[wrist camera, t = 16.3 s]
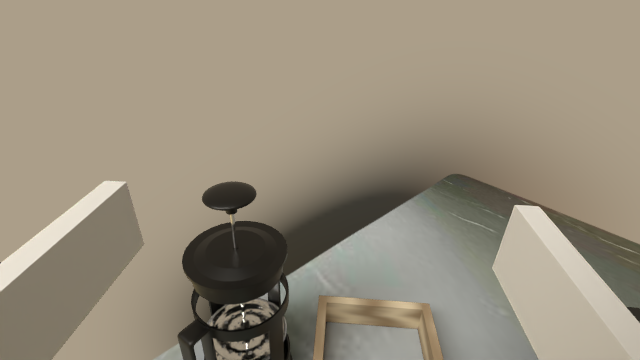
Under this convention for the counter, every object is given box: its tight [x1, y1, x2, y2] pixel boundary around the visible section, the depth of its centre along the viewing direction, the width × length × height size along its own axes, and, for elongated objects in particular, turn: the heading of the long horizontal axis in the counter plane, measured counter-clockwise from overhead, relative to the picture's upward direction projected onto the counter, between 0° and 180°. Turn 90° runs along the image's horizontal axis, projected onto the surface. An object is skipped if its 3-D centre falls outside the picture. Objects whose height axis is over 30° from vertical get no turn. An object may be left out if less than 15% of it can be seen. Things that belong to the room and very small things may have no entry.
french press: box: [178, 182, 292, 360], centre depth 33 cm, size 12×9×23 cm
